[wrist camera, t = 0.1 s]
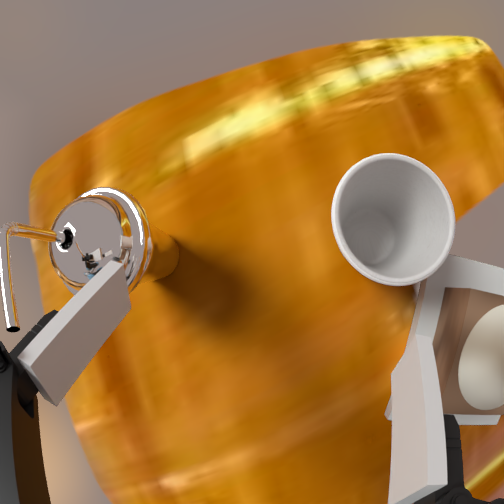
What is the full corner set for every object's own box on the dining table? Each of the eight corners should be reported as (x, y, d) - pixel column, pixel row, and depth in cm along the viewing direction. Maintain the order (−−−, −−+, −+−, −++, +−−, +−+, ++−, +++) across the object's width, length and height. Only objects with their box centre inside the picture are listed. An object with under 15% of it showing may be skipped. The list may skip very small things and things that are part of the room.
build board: (490, 419, 23) (496, 424, 22) (384, 413, 26) (387, 419, 24) (528, 278, 24) (535, 277, 23) (426, 251, 26) (432, 249, 25)
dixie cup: (392, 182, 28) (428, 140, 18) (420, 267, 26) (471, 261, 17) (310, 206, 29) (313, 170, 19) (337, 295, 28) (355, 304, 18)
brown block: (494, 398, 22) (519, 414, 17) (417, 393, 24) (436, 413, 19) (519, 303, 23) (549, 306, 18) (445, 287, 25) (471, 288, 20)
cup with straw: (200, 212, 30) (58, 119, 11) (196, 307, 29) (36, 343, 10) (125, 214, 32) (-33, 154, 12) (120, 300, 31) (-49, 312, 11)
